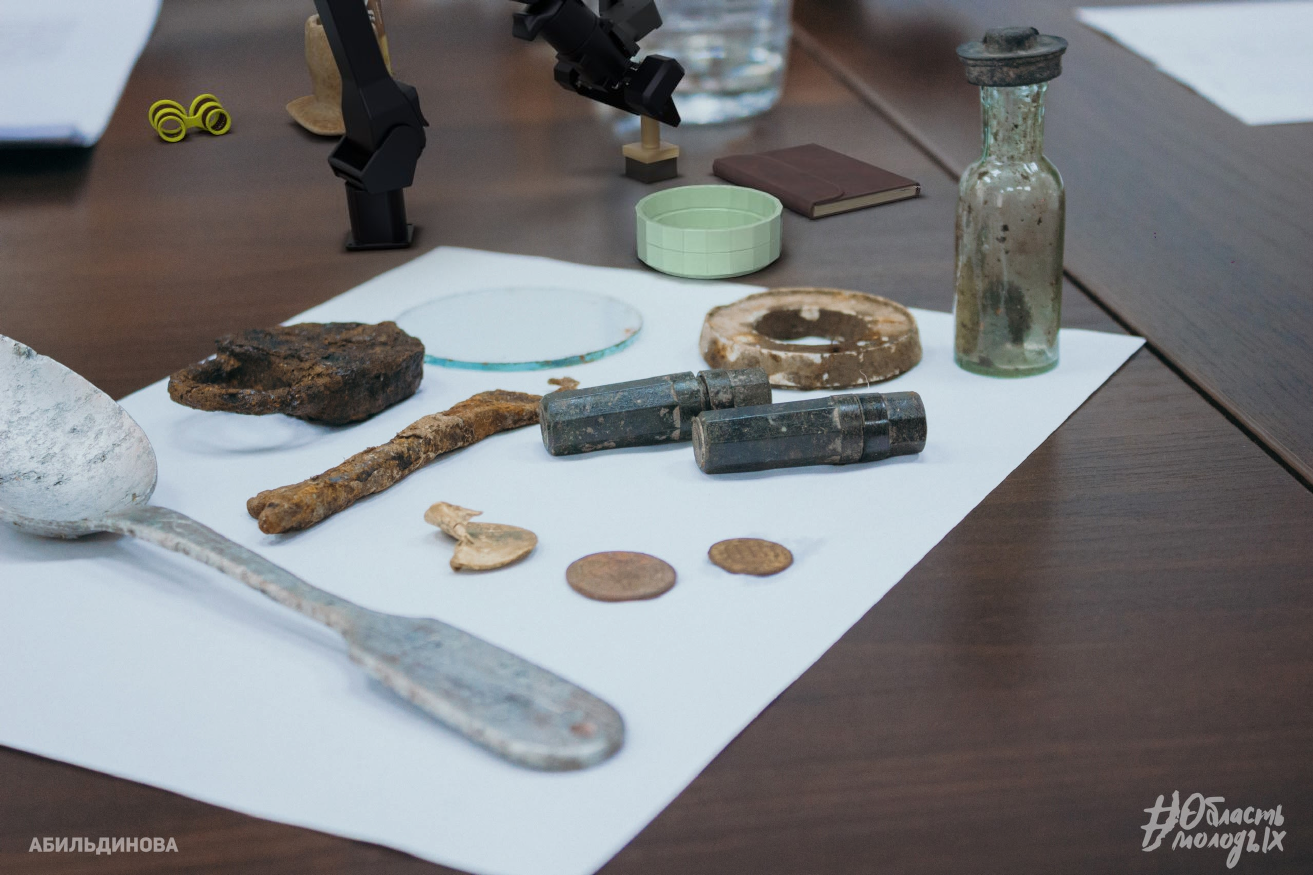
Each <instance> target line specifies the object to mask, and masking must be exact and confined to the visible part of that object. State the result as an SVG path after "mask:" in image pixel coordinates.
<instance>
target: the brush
mask: <svg viewBox="0 0 1313 875" xmlns="http://www.w3.org/2000/svg"><path fill="white" fill-rule="evenodd" d="M644 59H645V58H641V59H639V60H638V63H642V62H643V60H644ZM639 117H640V141H637V142H632V143H628V144H624V145H623V144H622V156H624V158H625V160H624V161H625V162H624V163H625V165H624V166H625V176H627V177H630V178H631V179H634V180H638V181H640V182H643V183H646V184H652V183H655V182H659V181H663V180H668V179H673V178H677V177H678V158H679V157H680V146H678V145H676V144H672V143H669V142H666V141H663V140H661V128H660V127H661V125H660V123H661V122H659V121H656V120H654V119H651V118H648V117H646V116H643V115H640V116H639Z"/></svg>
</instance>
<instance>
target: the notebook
mask: <svg viewBox="0 0 1313 875" xmlns="http://www.w3.org/2000/svg"><path fill="white" fill-rule="evenodd" d="M711 168H712V172H713V175H714V176H716V177H719V178H721V179H723V180H725V181H729V182H730V183H732V184H735V185H736V186H738V187H745V188H751V189H755V190H758V191H762V192H765V193H768V194H770V195H772V196H774V197H775V198H777V199H779V201H780V202H781V204H782V206H783V207H785V208H787V209H789V210H792V211H794V212H796V213H798V214H800V215H801V216H804V217H807V218H810V219H811V220H815V219H819V218H824V217H829V216H834V215H837V214H838V215H839V214H842V213H843V214H844V213H847V212H848V213H849V212H852V211H856V210H862V209H867V208H870V207H871V208H872V207H875V206H881V205H885V204H890V203H894V202H899V201H904V200H907V199H913V198H916V197H919V195H920V193H921V188H918V187H917V188H915V189H910V190H905V191H900V190H904V189H908V188H911V187H913V186H921V184H920V182H919V181H917V180H914V179H911V178H908V177H905V176H902V175H900V174H897V173H895V172H892V171H889V170H887V169H884V168H881V167H878V166H875V165H874V164H870V163H867V162H865V161H863V160H859V159H857V158H855V157H852V156H849V155H846V154H844V153H841V152H838V151H836V150H833V149H830V148H828V147H826V146H823V145H819V144H817V143H814V142H812V143H806V144H802V145H797V146H791V147H785V148H779V149H774V150H769V151H762V152H757V153H752V154H750V153H747V154H746V153H745V154H744V153H743V154H735V155H729V156H723V157H719V158H714V160H713V162H712V166H711ZM897 191H900V192H897ZM894 192H896V193H894ZM881 195H882V196H881Z"/></svg>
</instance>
